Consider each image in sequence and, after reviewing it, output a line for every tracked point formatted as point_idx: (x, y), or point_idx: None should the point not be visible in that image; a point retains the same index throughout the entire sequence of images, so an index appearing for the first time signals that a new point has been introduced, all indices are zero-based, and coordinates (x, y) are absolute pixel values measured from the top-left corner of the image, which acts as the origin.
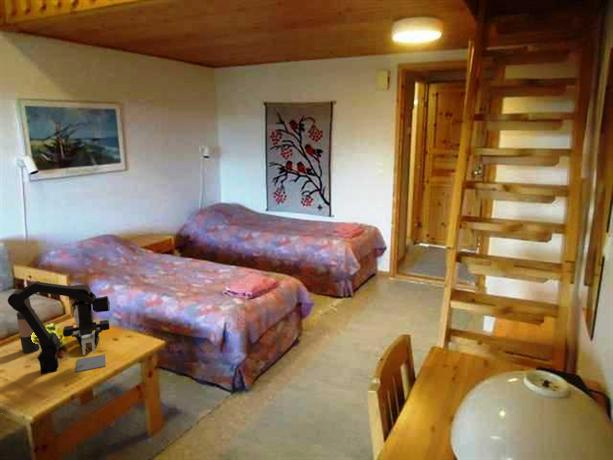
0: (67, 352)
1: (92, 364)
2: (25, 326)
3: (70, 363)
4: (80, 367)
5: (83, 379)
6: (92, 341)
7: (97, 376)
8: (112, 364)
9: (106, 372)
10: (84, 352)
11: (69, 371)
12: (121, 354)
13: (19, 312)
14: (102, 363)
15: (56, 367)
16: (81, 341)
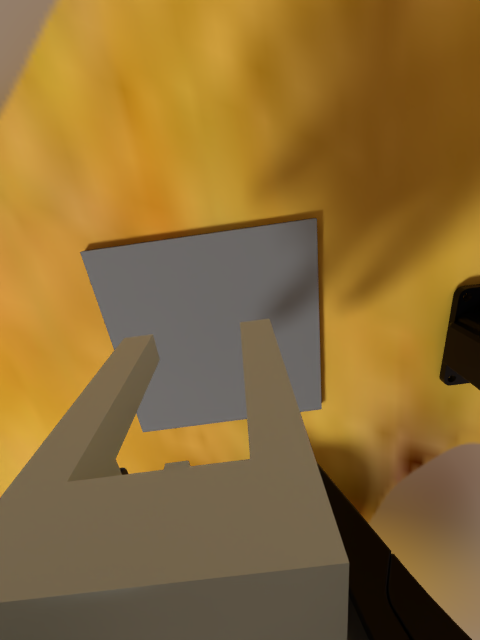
0: (379, 500)
1: (198, 305)
2: None
3: (360, 374)
4: (286, 282)
5: (228, 21)
6: (35, 494)
7: (96, 46)
8: (34, 271)
9: (30, 117)
10: (251, 335)
11: (364, 252)
12: (26, 408)
13: None
14: (119, 299)
15: (465, 318)
16: (334, 521)
